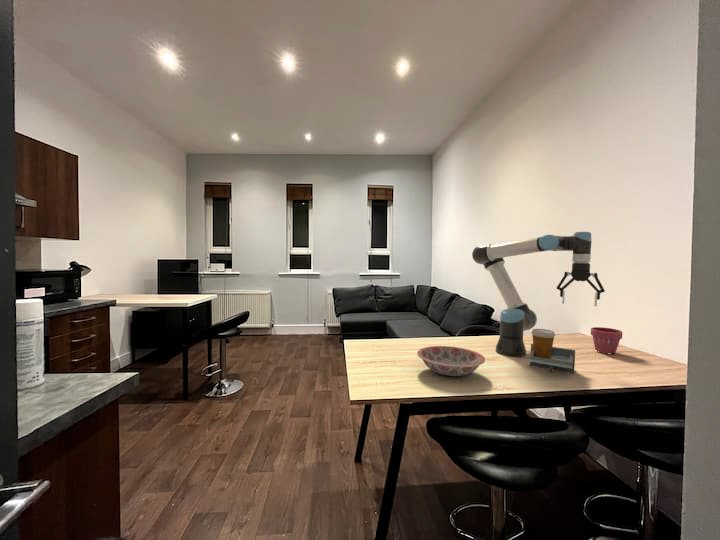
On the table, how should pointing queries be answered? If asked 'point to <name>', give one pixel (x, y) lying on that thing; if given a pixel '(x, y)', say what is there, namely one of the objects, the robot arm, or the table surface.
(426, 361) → the ceramic bowl
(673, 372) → the table surface
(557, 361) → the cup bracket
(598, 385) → the table surface
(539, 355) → the disposable coffee cup
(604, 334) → the plant pot
